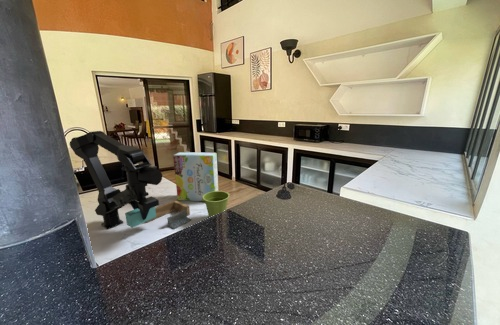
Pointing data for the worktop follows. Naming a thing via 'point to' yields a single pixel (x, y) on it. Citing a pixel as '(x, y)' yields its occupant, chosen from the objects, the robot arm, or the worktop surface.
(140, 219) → the teal rectangular block
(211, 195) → the plant pot
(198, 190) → the snack box
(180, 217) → the bookend
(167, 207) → the tan wooden l-shaped piece
